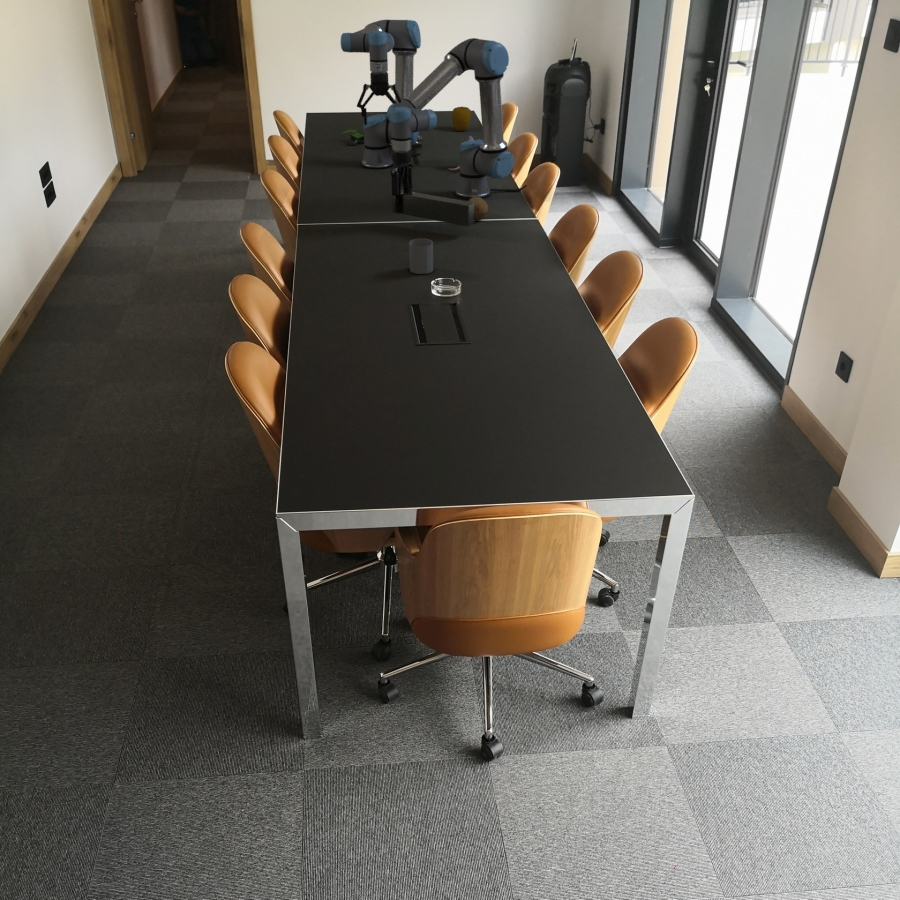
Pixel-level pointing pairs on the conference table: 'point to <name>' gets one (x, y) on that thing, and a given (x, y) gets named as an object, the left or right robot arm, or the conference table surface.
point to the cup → (421, 256)
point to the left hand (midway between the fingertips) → (381, 124)
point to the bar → (436, 208)
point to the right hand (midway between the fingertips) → (402, 210)
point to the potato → (479, 207)
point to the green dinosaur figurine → (354, 137)
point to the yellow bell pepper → (461, 118)
